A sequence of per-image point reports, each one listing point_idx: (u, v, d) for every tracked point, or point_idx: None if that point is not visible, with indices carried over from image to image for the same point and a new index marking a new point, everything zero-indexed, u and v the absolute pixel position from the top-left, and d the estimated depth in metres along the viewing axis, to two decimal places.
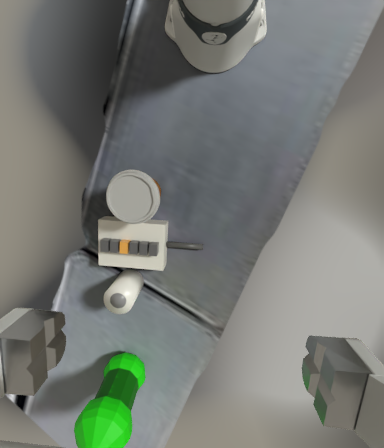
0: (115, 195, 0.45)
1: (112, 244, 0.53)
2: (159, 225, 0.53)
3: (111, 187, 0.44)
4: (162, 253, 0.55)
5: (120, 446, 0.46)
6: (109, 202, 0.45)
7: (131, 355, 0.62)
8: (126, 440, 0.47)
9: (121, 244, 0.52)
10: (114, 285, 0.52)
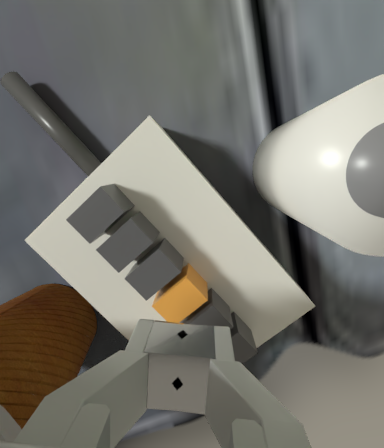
0: None
1: None
2: (42, 254, 0.15)
3: None
4: (102, 171, 0.14)
5: None
6: None
7: None
8: None
9: (175, 317, 0.13)
10: None
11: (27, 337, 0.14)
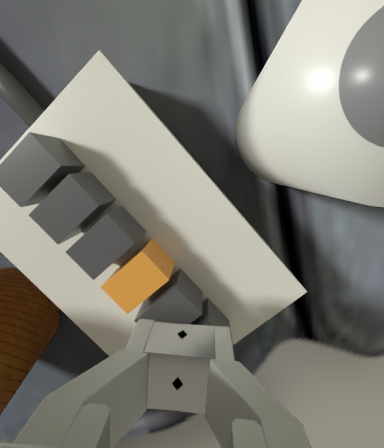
0: None
1: None
2: None
3: None
4: (45, 123, 0.11)
5: None
6: None
7: None
8: None
9: (129, 301, 0.11)
10: (319, 189, 0.07)
11: None
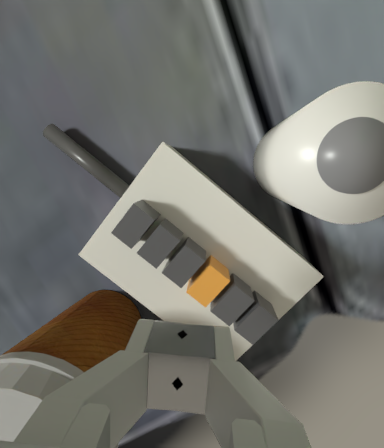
0: None
1: (230, 314, 0.17)
2: (93, 264, 0.19)
3: None
4: (132, 191, 0.17)
5: None
6: None
7: None
8: None
9: (206, 298, 0.16)
10: None
11: (92, 329, 0.17)
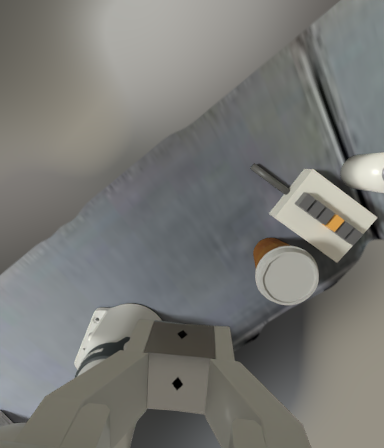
0: (302, 290, 0.39)
1: (344, 233, 0.43)
2: (280, 221, 0.45)
3: (299, 298, 0.40)
4: (299, 189, 0.44)
5: None
6: (313, 287, 0.39)
7: None
8: None
9: (334, 228, 0.43)
10: (380, 192, 0.39)
11: None
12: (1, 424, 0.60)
